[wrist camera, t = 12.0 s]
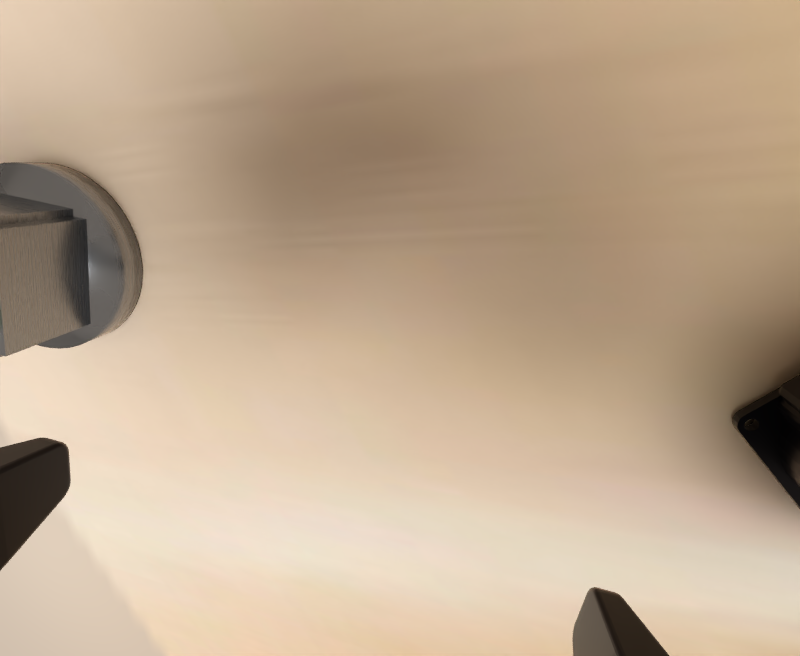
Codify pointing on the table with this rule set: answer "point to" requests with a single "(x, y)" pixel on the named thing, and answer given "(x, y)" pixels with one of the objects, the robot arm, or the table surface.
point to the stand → (62, 259)
